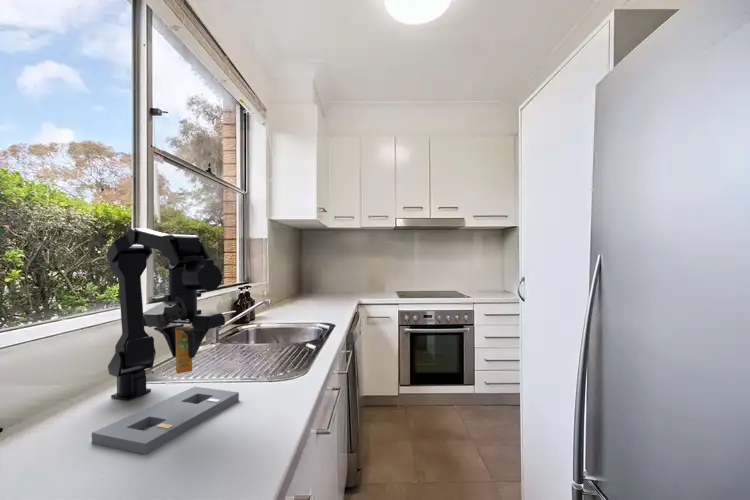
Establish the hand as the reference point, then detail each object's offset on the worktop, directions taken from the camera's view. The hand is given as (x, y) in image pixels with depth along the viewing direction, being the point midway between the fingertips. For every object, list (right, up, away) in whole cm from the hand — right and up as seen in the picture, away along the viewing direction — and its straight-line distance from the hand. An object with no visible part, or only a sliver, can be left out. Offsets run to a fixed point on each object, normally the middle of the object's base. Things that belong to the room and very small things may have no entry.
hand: (183, 357), depth 81 cm
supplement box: (0, -3, 0) cm, 3 cm away
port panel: (-1, -13, -3) cm, 13 cm away
